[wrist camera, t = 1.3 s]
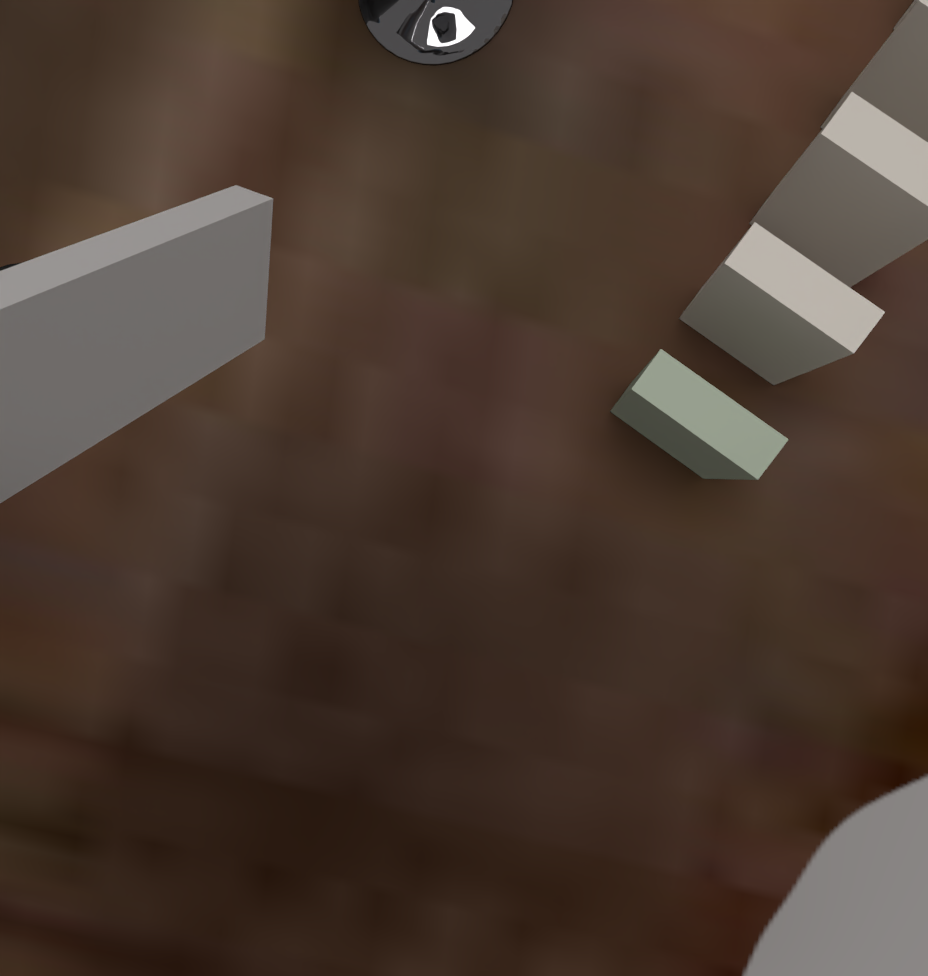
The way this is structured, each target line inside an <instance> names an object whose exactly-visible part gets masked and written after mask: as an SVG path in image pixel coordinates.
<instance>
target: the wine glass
mask: <svg viewBox="0 0 928 976" xmlns="http://www.w3.org/2000/svg"><path fill="white" fill-rule="evenodd" d="M358 3H359V7H360V11H361V14H362V17H363V20H364V22H365V24H366V26H367V28H368V30H369V31H370V32H371V34H372V35H373V36H374V38H375V39H376V40H377V42H379V43H380V44H381V45H382V46H383V47H384V48H385V49H386V50H388V51H389V52H391V53H392V54H394V55H396V56H397V57H399V58H402V59H404V60H407V61H409V62H413V63H418V64H423V65H441V64H447V63H453V62H455V61H458V60H461V59H464V58H466V57H468V56H470V55H472V54H473V53H475V52H477V51H478V50H480V49H481V48H482V47H483V46H485V45H486V44H487V43H488V42H489V41H490V40H491V39H492V38H493V37H494V36H495V35H496V34H497V32H498V31H499V30H500V28H501V27H502V25H503V23H504V22H505V20H506V18H507V16H508V14H509V11H510V9H511V7H512V3H513V0H358Z"/></svg>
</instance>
